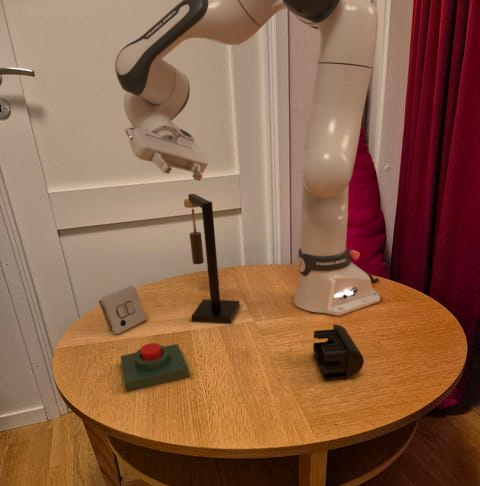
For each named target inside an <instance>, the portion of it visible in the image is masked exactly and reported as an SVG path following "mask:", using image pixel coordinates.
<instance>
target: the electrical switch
mask: <svg viewBox="0 0 480 486" xmlns="http://www.w3.org/2000/svg"><path fill="white" fill-rule="evenodd" d="M98 303H99V306H100V308H101V311H102V313H103V316H104V319H105V321H106V323H107V327H108V329H109V331H112V333H113V334H115V335H120V334H121V333H124V332H126V331H128V330H129V329H131V328H134V327H135V326H137V325H139V324H141V323H143V322H145V321H146V320H147V317H146V314H145V311H144V308H143V305H142V303H141V299H140V298H139V295H138V292H137V289H136V287H135V286H133V285H130V286H127V287H126V288H123V289H120V290H117V291H115V292H112V293H111V294H108V295H105V296H103V297H101V299H100V300H99V301H98Z"/></svg>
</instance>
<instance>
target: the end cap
mask: <svg viewBox="0 0 480 486" xmlns="http://www.w3.org/2000/svg"><path fill="white" fill-rule="evenodd" d="M313 339H317V340H324V339H327V340H326V341H318V342H313V346H312V347H313V358H314V360H315V363H316V365H317V367H318V369H319V372H320V374H321V377H322V379H323V381H326V382H327V381H338V380H339V381H340V380H347V379H349V378H351V377H353V376H356V375H357V374H358V373H359V372H360V371H361V370H362V368H363V366H364V356H363V354H362V353H361V351H360V350H359V348H358V346H357V345H356V344H355V342H354V340H353V339H352V337H351V335H350V334H349V332H348V331H347V329H346V328H345V327H344V326H342V325H340V324H333V325H332V329H321V330H313Z"/></svg>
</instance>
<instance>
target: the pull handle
mask: <svg viewBox="0 0 480 486" xmlns="http://www.w3.org/2000/svg"><path fill="white" fill-rule="evenodd" d="M191 216H192V217H191V219H192V225H193V231H192V232H189V241H190V251H191V261H192V264H193V265H202V264H204V263H205V260H204V250H203V249H204V248H203V240H202V232H201V231H197V226H196V225H197V224H196V215H195V209H194V208H191Z"/></svg>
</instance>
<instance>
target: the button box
mask: <svg viewBox="0 0 480 486" xmlns="http://www.w3.org/2000/svg"><path fill="white" fill-rule="evenodd" d="M159 345H160V344H159ZM160 346H161V351H162V356H161V357H159V358H158V359H155V360H143V359H142V357H141V352H140V349H141V348H139V349H137V350H136V352H132V353H128V354H123V355H120V362H121V369H122V376H123V382H124V387H125V392H130V391H135V390H140V389H144V388H148V387H152V386H157V385H161V384H166V383H169V382H173V381H178V380H182V379H187V378H189V376H190V375H189V370H188V366H187V363H186V360H185V359H184V356H183V353H182V351H181V348H180V346H179V344H178V343H175V344H170V345H163V344H162V345H160Z"/></svg>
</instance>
